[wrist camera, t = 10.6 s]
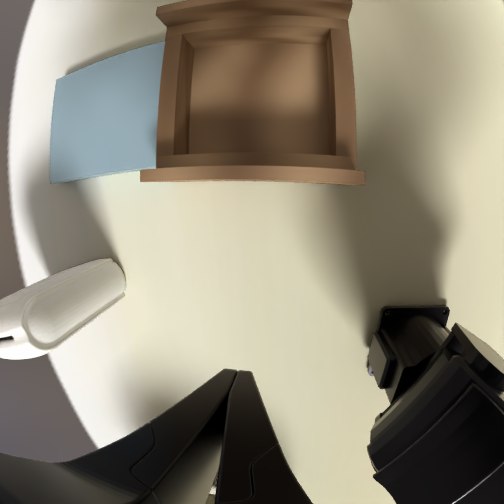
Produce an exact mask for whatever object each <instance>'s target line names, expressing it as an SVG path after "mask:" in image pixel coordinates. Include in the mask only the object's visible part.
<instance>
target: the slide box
mask: <svg viewBox="0 0 504 504" xmlns="http://www.w3.org/2000/svg"><path fill="white" fill-rule="evenodd" d="M351 8H352V0H187V1H182V2H178V3H173V4H169V5H164V6H160V7H157V10H156V16H157V17H158V18H159V19H160V20H161V21H162V22H163V23H164V24H165V26H166V27H167V32H166V39H165V46H164V54H163V62H162V71H161V81H160V92H159V105H158V121H157V144H156V169H143V170H140V182H185V181H276V182H303V183H322V184H337V185H365V171H356V108H355V89H354V74H353V62H352V52H351V43H350V35H349V27H348V17H349V14H350V11H351Z"/></svg>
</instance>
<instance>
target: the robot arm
mask: <svg viewBox="0 0 504 504" xmlns="http://www.w3.org/2000/svg"><path fill="white" fill-rule="evenodd" d="M444 310H445V312H444V313H443V311H444ZM387 311H389V314H387V315H385V313H386V312H387ZM449 312H450V310H449V308H448V307H447V306H446V305H433V306H385V307H383V309H382V310H381V313H380V318H379V323H378V328H377V331H375V333H374V334H373V338H372V342H371V347H370V351H369V355H368V361H369V366H368V374H369V375H370V376H374V377H375V379H376V382H377V385H378V387H379V388H380V389H385V391H386V394H387V396H388V399H389V402H390V404H391V405H390V406H389V407H388V408H387V409H386V410H385V411H384V412H383V413H380V414H379V415H378V416H377V417H376V418H375V424H374V426H373V428H372V430H371V436H370V444H369V445H368V446H367V451H368V454H369V458H370V460H371V463H372V466H373V468H374V470H375V471H376V473H375V474H374V475H373V478H374V479H375V480H376V481H377V482H379V483H380V484H381V485H382V486H383V487H385V489H386V490H387V491H388V492H389V493H390V495H391V496H392V497H393V499H394V500H395V502H396V504H504V359H503V358H502V357H501V356H500V355H499V354H498V353H497V352H496V351H494V350H493V349H492V348H491V347H490V346H489V345H488V344H487V343H485V342H484V341H482V340H481V339H479V338H478V337H477V336H475V335H474V334H472V333H471V332H469V331H468V330H466V329H465V328H463V327H462V326H460V325H459V324H458V323H455V324H454V326H453V327H452V329H451V330H452V331H450V330H449V329H448V328H447V327H446V324H447V320H448V316H449ZM218 468H219V471H218ZM217 471H218V479H217V487H216V495H215V503H214V504H313V503H312V502H311V500H310V499H309V497H308V496H307V494H306V493H305V491H304V490H303V488H302V487H301V485H300V484H299V482H298V481H297V479H296V478H295V476H294V474H293V472H292V471H291V469H290V467H289V465H288V463H287V461H286V459H285V456H284V454H283V452H282V449H281V447H280V445H279V442H278V440H277V437H276V435H275V432H274V430H273V427H272V424H271V422H270V419H269V417H268V414H267V411H266V409H265V406H264V403H263V401H262V398H261V395H260V393H259V390H258V387H257V385H256V382H255V379H254V376H253V374H252V372H251V371H243V370H239V371H237V370H233V369H223V370H222V371H220V372H219V373H218V374H216V375H215V376H214V377H212V378H211V379H210V380H208V381H207V382H206V383H204V384H203V385H202V386H200V387H199V388H198V389H196V390H195V391H193V392H192V393H191V394H189V395H188V396H186V397H185V398H184V399H182V400H181V401H179V402H178V403H176V404H175V405H174V406H172V407H171V408H169V409H168V410H166V411H165V412H163V413H162V414H160V415H159V416H157V417H156V418H154V419H153V420H151V421H150V423H147V424H145V425H144V426H142V427H140V428H139V429H137V430H136V431H134V432H132V433H131V434H129V435H127V436H125V437H123V438H121V439H119V440H117V441H115V442H113V443H111V444H109V445H107V446H105V447H102V448H100V449H98V450H96V451H93V452H91V453H89V454H86V455H84V456H81V457H79V458H76V459H73V460H71V461H66V462H45V461H39V460H33V459H27V458H22V457H17V456H12V455H8V454H4V453H0V504H205V503H206V500H207V498H208V495H209V492H210V490H211V487H212V484H213V482H214V479H215V476H216V474H217Z"/></svg>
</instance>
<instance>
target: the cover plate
mask: <svg viewBox="0 0 504 504" xmlns="http://www.w3.org/2000/svg"><path fill="white" fill-rule="evenodd" d="M164 46H165V41H162V42H158V43H154V44H151V45H147V46H144V47H140V48H137V49H133V50H130V51H127V52H124V53H121V54H118V55H115V56H112V57H109V58H107V59H104V60H101V61H99V62H96V63H94V64H91V65H89V66H86V67H84V68H81V69H79V70H77V71H75V72H72V73H70V74H68V75H66V76H64V77H62V78H59V79H57V80H56V86H55V93H54V101H53V111H52V122H51V138H50V184H53V183H65V182H70V181H76V180H81V179H87V178H93V177H99V176H105V175H112V174H119V173H126V172H134V171H140V170H143V169H156V144H157V121H158V105H159V92H160V81H161V71H162V62H163V54H164Z"/></svg>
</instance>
